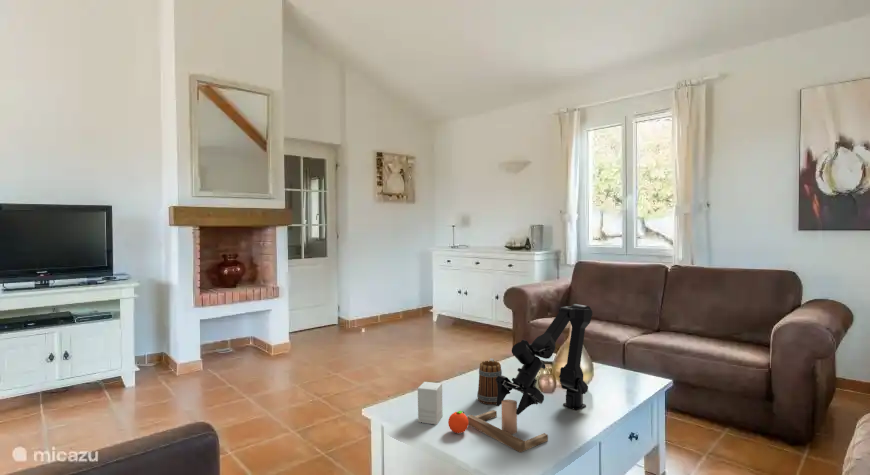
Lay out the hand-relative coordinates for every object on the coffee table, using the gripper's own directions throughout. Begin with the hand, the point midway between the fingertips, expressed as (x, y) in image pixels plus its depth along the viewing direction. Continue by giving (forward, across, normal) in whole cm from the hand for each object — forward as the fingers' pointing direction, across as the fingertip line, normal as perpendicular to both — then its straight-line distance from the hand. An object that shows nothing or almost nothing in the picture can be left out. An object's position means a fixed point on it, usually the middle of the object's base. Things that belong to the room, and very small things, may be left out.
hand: (507, 409), depth 160 cm
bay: (+5, 0, -5) cm, 8 cm away
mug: (-6, +26, -18) cm, 32 cm away
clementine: (+15, +10, +4) cm, 18 cm away
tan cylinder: (+5, 0, -6) cm, 8 cm away
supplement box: (+16, +24, +5) cm, 29 cm away
